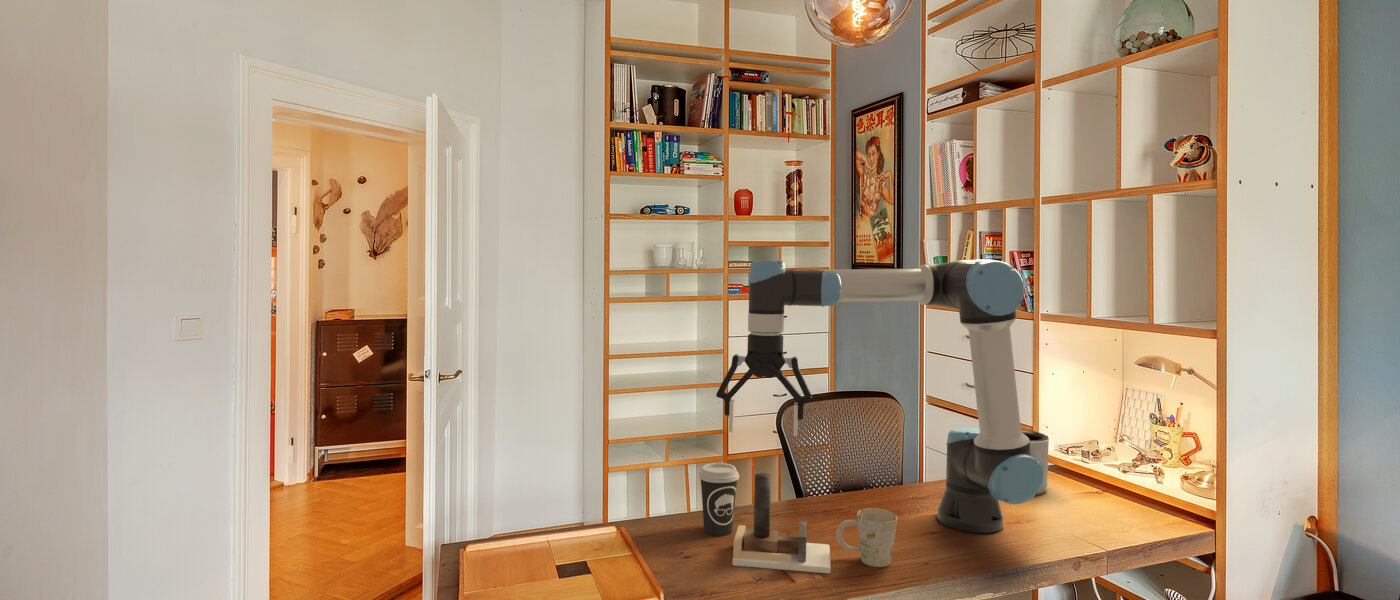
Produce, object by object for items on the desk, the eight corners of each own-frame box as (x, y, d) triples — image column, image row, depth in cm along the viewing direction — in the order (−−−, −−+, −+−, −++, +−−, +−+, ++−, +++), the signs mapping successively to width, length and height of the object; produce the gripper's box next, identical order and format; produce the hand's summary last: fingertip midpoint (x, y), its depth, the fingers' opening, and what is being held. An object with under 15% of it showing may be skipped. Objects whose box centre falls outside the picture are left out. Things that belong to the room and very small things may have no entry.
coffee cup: (743, 526, 167) (744, 464, 166) (731, 541, 158) (733, 475, 157) (705, 521, 170) (706, 460, 169) (691, 535, 161) (692, 471, 160)
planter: (1042, 501, 189) (1045, 444, 188) (980, 489, 198) (982, 435, 197) (1050, 485, 202) (1052, 432, 201) (991, 475, 211) (993, 424, 210)
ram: (806, 544, 153) (808, 472, 153) (805, 561, 145) (807, 484, 144) (747, 539, 156) (748, 468, 155) (743, 556, 147) (744, 480, 146)
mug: (897, 571, 144) (898, 523, 143) (835, 565, 146) (836, 518, 146) (894, 555, 152) (895, 510, 151) (835, 549, 154) (836, 505, 154)
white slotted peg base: (829, 549, 154) (829, 530, 154) (830, 573, 142) (830, 552, 142) (738, 542, 157) (739, 523, 157) (732, 565, 146) (732, 544, 145)
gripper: (825, 333, 150) (822, 431, 151) (710, 329, 154) (708, 425, 155) (825, 337, 143) (822, 440, 144) (704, 332, 147) (702, 433, 148)
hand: (763, 432), depth 149 cm, fingers open, 13 cm apart
